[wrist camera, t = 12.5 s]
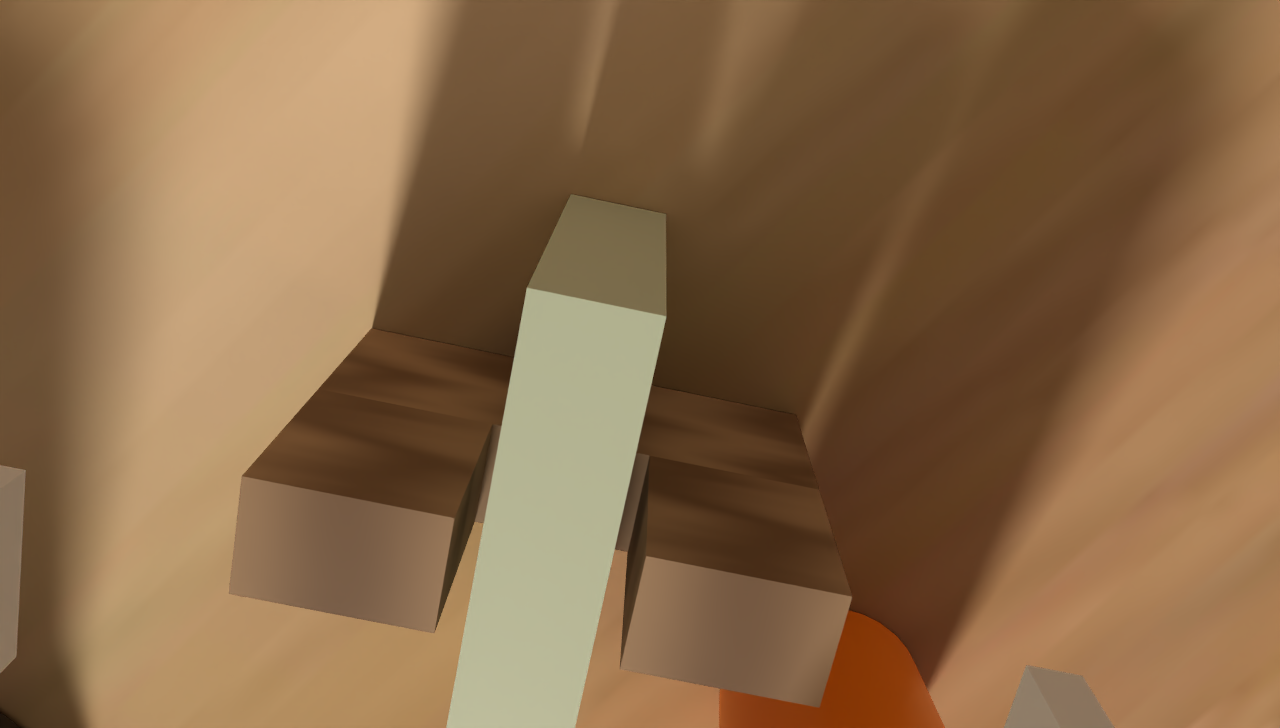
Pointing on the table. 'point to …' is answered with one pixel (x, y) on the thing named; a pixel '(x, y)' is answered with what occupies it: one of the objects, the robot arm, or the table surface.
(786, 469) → the brown wooden slotted board
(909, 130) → the table surface
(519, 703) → the slot plate
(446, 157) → the table surface
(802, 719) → the shaker bottle
